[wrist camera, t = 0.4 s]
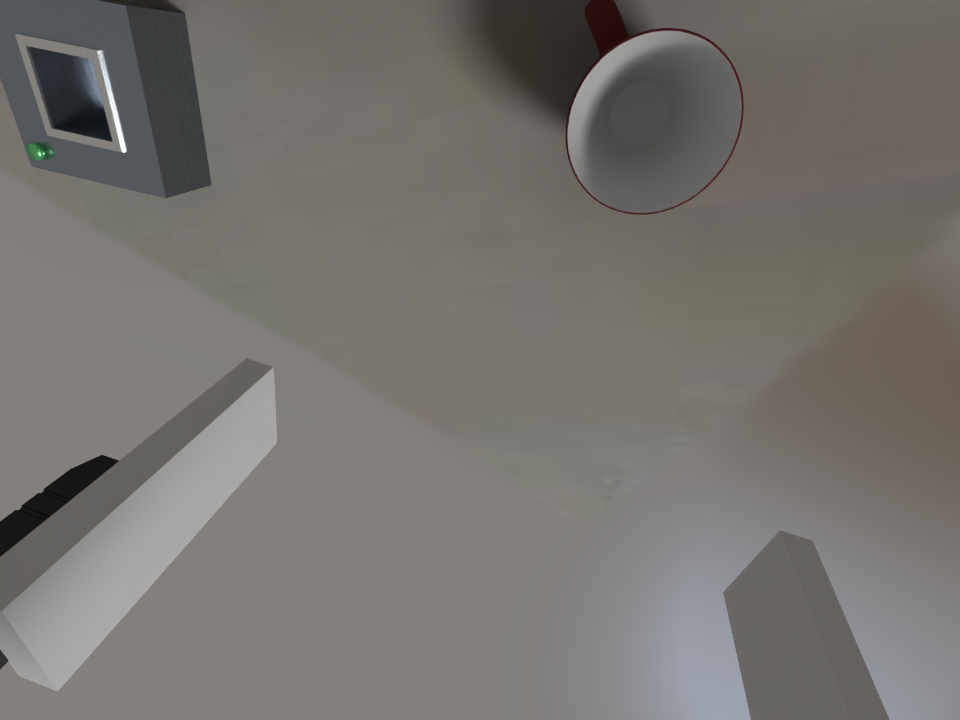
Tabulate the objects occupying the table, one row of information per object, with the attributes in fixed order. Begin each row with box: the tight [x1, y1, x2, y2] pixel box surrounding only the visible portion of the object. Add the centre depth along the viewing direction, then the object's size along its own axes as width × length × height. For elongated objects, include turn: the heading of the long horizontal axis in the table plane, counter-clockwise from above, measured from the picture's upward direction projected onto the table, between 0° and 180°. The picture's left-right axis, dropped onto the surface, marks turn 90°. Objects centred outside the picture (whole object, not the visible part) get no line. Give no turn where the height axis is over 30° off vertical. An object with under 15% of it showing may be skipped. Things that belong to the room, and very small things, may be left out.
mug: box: [566, 0, 744, 215], centre depth 26 cm, size 10×8×10 cm
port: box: [0, 0, 211, 198], centre depth 36 cm, size 12×12×6 cm
